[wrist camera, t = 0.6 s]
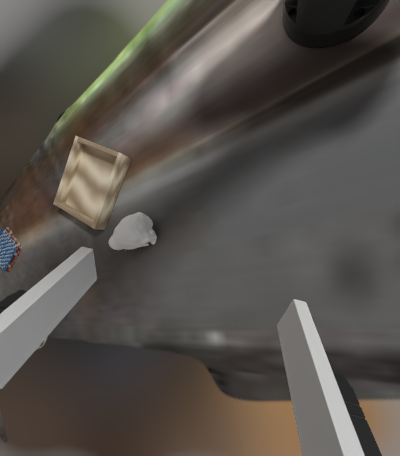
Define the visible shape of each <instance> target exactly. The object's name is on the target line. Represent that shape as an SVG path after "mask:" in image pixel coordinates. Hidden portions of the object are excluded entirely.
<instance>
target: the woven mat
mask: <svg viewBox="0 0 400 456" xmlns="http://www.w3.org/2000/svg"><path fill="white" fill-rule="evenodd" d="M9 229H10V228H8V227H7V228H3V230H2V229H1V231H2V232H1V234H0V265H1V267H2V268H3V270H4V271H6V270H7V271H10V269H11V268H12V265H13V264H14V262H15V260H16V258H17V256H18V255H19V252H20V251H21V249H22V246H21V247H20V243H19V241H18V242H17V239H16V238H15V237H14V235H13V233H12V232H11V231H12V230H10V232H9ZM8 233H9V234H8ZM12 235H13V236H12Z"/></svg>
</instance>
